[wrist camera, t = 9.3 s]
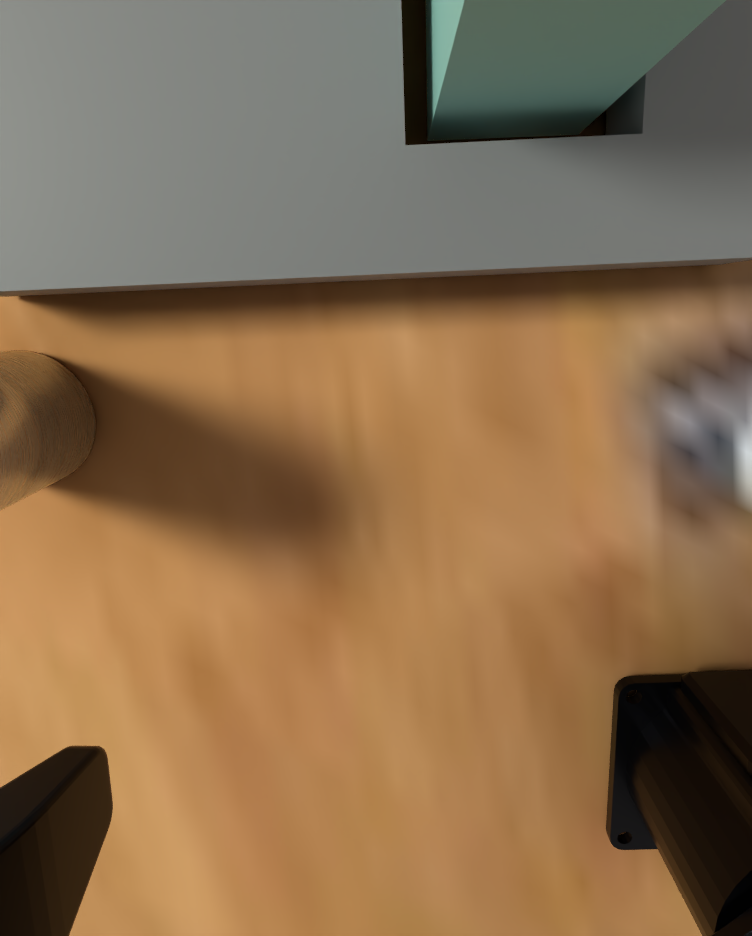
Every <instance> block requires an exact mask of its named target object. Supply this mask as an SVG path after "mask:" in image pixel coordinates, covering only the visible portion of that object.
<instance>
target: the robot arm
mask: <svg viewBox="0 0 752 936" xmlns="http://www.w3.org/2000/svg"><path fill="white" fill-rule="evenodd" d="M632 690H637V691H636V693H635V694H634V695H633V696H630V697H628V696H627V693H629V692H630V691H632ZM112 810H113V802H112V793H111V784H110V775H109V766H108V758H107V754H106V752H105V750H104V749H103V748H101V747H100V746H69V747H66V748H65V749H63V750H61V751H59V752H58V753H56V754H55V755H53V756H51V757H50V758H48V759H46V760H45V761H43V762H41V763H40V764H38V765H37V766H35V767H33V768H32V769H30V770H28V771H27V772H25V773H24V774H22V775H20V776H19V777H17V778H15V779H14V780H12V781H10V782H9V783H7V784H6V785H4V786H2V787H1V788H0V936H69V934H70V932H71V929H72V926H73V923H74V921H75V918H76V915H77V913H78V910H79V907H80V904H81V902H82V899H83V896H84V894H85V891H86V888H87V885H88V883H89V880H90V877H91V875H92V872H93V869H94V866H95V864H96V861H97V858H98V856H99V853H100V850H101V847H102V845H103V842H104V839H105V837H106V834H107V831H108V828H109V825H110V822H111V817H112ZM606 831H607V835H608V837H609V839H610V842H611V844H612V845H613V846H614V847H615V848H617V849H621V850H638V849H658V850H659V852H660V854H661V856H662V858H663V860H664V862H665V864H666V866H667V868H668V870H669V872H670V874H671V875H672V877H673V879H674V881H675V883H676V885H677V887H678V889H679V891H680V893H681V895H682V897H683V899H684V901H685V903H686V905H687V907H688V908H689V910H690V912H691V914H692V916H693V918H694V920H695V922H696V924H697V926H698V928H699V930H700V932H701V934H702V936H752V670H737V671H706V672H689V673H687V674H683V675H652V676H629V677H624V678H622V679H621V680H619V681H618V682H617V684H616V685H615V688H614V698H613V715H612V733H611V751H610V769H609V786H608V804H607V822H606ZM622 832H625V833H624V834H621V835H619V834H620V833H622Z"/></svg>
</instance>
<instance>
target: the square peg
mask: <svg viewBox="0 0 752 936" xmlns="http://www.w3.org/2000/svg"><path fill="white" fill-rule="evenodd" d="M425 1H426V71H427V141H437V140H461V139H484V138H508V137H532V136H556V135H579V134H580V133H581V132H582V131H583V130H584V129H585V128H586V127H587V126H588V125H590V124H591V123H592V122H593V121H594V120H595V119H596V118H597V117H598V116H599V115H601V114H602V113H603V112H604V111H605V110H606V109H607V108H608V107H609V106H610V105H612V104H613V103H614V102H615V101H616V100H617V99H618V98H619V97H620V96H621V95H623V94H624V93H625V92H626V91H627V90H628V89H629V88H630V87H631V86H632V85H634V84H635V83H636V82H637V81H638V80H639V79H640V78H641V77H642V76H643V75H645V74H646V73H647V72H648V71H649V70H650V69H651V68H652V67H653V66H654V65H656V64H657V63H658V62H659V61H660V60H661V59H662V58H663V57H664V56H665V55H667V54H668V53H669V52H670V51H671V50H672V49H673V48H674V47H675V46H676V45H678V44H679V43H680V42H681V41H682V40H683V39H684V38H685V37H686V36H687V35H688V34H690V33H691V32H692V31H693V30H694V29H695V28H696V27H697V26H698V25H699V24H701V23H702V22H703V21H704V20H705V19H706V18H707V17H708V16H709V15H710V14H712V13H713V12H714V11H715V10H716V9H717V8H718V7H719V6H720V5H721V4H723V3H724V2H725V1H726V0H425Z"/></svg>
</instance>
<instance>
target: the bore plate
mask: <svg viewBox="0 0 752 936" xmlns="http://www.w3.org/2000/svg"><path fill="white" fill-rule="evenodd" d="M747 260H752V0H726V1H725V2H724V3H723V4H721V5H720V6H719V7H718V8H717V9H716V10H715V11H714V12H713V13H712V14H710V15H709V16H708V17H707V18H706V19H705V20H704V21H703V22H702V23H701V24H699V25H698V26H697V27H696V28H695V29H694V30H693V31H692V32H691V33H690V34H688V35H687V36H686V37H685V38H684V39H683V40H682V41H681V42H680V43H679V44H678V45H676V46H675V47H674V48H673V49H672V50H671V51H670V52H669V53H668V54H667V55H665V56H664V57H663V58H662V59H661V60H660V61H659V62H658V63H657V64H656V65H654V66H653V67H652V68H651V69H650V70H649V71H648V72H647V73H646V74H645V75H643V76H642V77H641V78H640V79H639V80H638V81H637V82H636V83H635V84H634V85H632V86H631V87H630V88H629V89H628V90H627V91H626V92H625V93H624V94H623V95H621V96H620V97H619V98H618V99H617V100H616V101H615V102H614V103H613V104H612V105H610V106H609V107H608V108H607V110H606V134H605V135H604V136H584V137H563V138H543V139H523V140H502V141H482V142H461V143H441V144H421V145H405V115H404V80H403V45H402V9H401V0H0V296H5V297H6V296H29V295H51V294H73V293H95V292H118V291H140V290H162V289H185V288H207V287H229V286H251V285H274V284H296V283H318V282H340V281H363V280H385V279H407V278H430V277H452V276H474V275H496V274H519V273H541V272H563V271H585V270H608V269H630V268H652V267H675V266H697V265H719V264H726V263H733V262H740V261H747Z"/></svg>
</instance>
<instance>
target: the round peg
mask: <svg viewBox="0 0 752 936" xmlns="http://www.w3.org/2000/svg"><path fill="white" fill-rule="evenodd" d="M95 428H96V423H95V414H94V410H93V406H92V403H91V400H90V398H89V396H88V394H87V392H86V390H85V388H84V387H83V385H82V384H81V382H80V381H79V380H78V379H77V378H76V376H75V375H74V374H73V373H72V372H71V371H69V370H68V369H67V368H66V367H65V366H63V365H62V364H61V363H59V362H57V361H56V360H54V359H52V358H50V357H48V356H45V355H43V354H39V353H36V352H31V351H23V350H14V351H4V352H0V511H1V510H3V509H5V508H6V507H8V506H10V505H12V504H14V503H16V502H18V501H20V500H22V499H24V498H26V497H28V496H30V495H32V494H34V493H36V492H37V491H39V490H41V489H43V488H45V487H47V486H49V485H51V484H53V483H55V482H57V481H59V480H61V479H63V478H65V477H66V476H68V475H70V474H71V473H73V472H74V471H75V470H77V469H78V468H79V467H80V466H81V465H82V463H83V462H84V461H85V459H86V458H87V456H88V455H89V453H90V451H91V448H92V445H93V442H94V437H95Z"/></svg>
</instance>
